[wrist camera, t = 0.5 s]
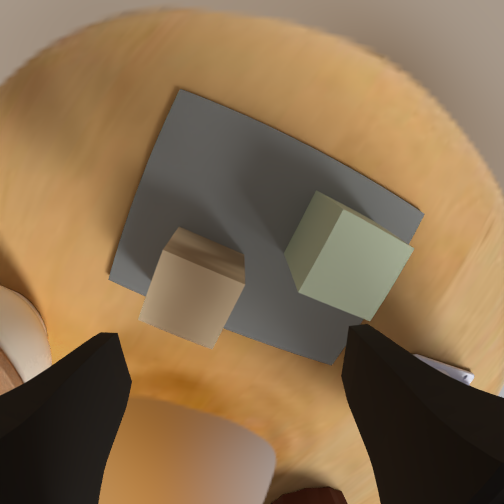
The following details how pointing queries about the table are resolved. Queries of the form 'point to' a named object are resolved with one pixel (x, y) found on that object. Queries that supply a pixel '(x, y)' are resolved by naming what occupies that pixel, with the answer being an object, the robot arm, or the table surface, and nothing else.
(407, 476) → the robot arm
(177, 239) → the beech cube
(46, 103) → the table surface
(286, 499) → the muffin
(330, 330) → the slate mat
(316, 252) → the green block
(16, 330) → the lidded jar
